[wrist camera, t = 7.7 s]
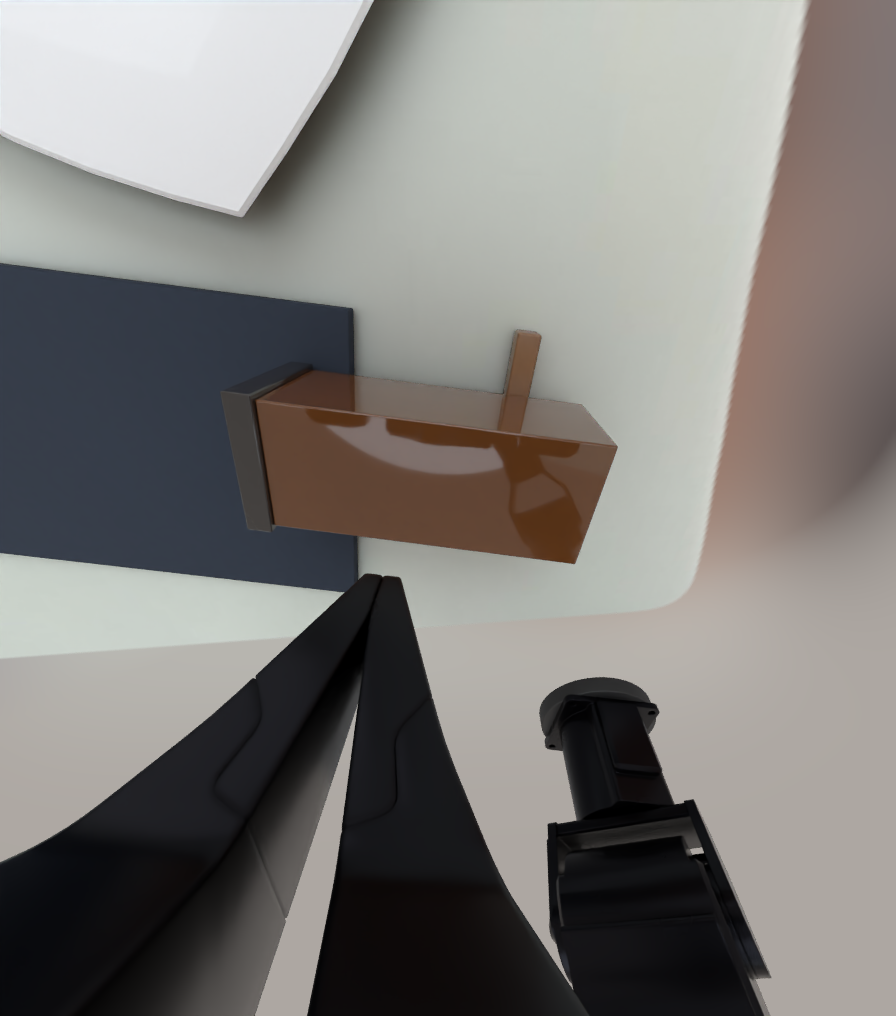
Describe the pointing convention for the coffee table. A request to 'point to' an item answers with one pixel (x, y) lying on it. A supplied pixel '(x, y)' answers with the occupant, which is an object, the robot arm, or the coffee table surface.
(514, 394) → the stop
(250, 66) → the plate
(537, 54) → the coffee table surface
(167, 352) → the mat
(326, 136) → the coffee table surface
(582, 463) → the brown capped block
